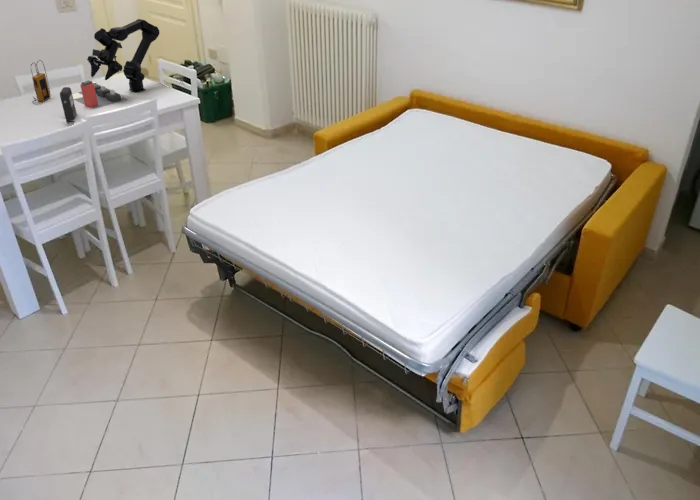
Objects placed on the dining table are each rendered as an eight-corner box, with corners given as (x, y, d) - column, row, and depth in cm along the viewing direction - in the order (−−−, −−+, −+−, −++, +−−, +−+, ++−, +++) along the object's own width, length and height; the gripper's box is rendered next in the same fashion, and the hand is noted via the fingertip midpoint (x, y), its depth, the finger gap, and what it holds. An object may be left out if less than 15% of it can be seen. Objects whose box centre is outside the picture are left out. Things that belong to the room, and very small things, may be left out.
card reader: (75, 123, 283) (67, 92, 275) (66, 123, 282) (58, 93, 274) (78, 116, 290) (71, 86, 282) (69, 116, 290) (62, 86, 281)
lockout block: (91, 103, 302) (86, 79, 295) (98, 104, 300) (93, 81, 294) (84, 105, 298) (79, 82, 292) (91, 107, 297) (86, 83, 290)
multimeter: (37, 93, 315) (27, 56, 304) (54, 95, 314) (45, 57, 303) (21, 103, 303) (10, 64, 292) (39, 104, 302) (28, 65, 291)
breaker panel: (100, 89, 324) (98, 78, 320) (129, 102, 309) (126, 90, 306) (61, 99, 309) (58, 87, 306) (89, 112, 295) (86, 100, 291)
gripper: (85, 39, 297) (73, 67, 295) (113, 45, 291) (101, 73, 288) (100, 51, 307) (89, 78, 305) (128, 57, 301) (116, 84, 299)
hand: (98, 78), depth 299 cm, fingers open, 9 cm apart
